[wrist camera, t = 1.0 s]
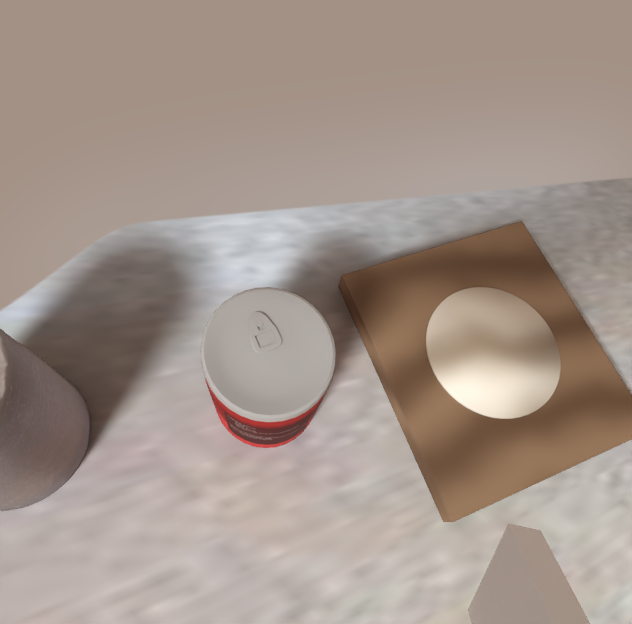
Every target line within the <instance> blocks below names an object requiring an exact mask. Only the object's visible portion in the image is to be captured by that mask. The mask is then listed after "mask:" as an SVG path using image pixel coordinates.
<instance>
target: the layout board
mask: <svg viewBox="0 0 632 624" xmlns="http://www.w3.org/2000/svg"><path fill="white" fill-rule="evenodd" d="M339 289H340V291H341V293H342V295H343V297H344V300H345V302H346V304H347V306H348V309H349V311H350V313H351V315H352V318H353V320H354V322H355V324H356V327H357V329H358V331H359V333H360V336H361V338H362V340H363V342H364V345H365V347H366V349H367V351H368V354H369V356H370V358H371V360H372V363H373V365H374V367H375V369H376V371H377V374H378V376H379V378H380V380H381V383H382V385H383V387H384V389H385V392H386V394H387V396H388V398H389V401H390V403H391V405H392V407H393V410H394V412H395V414H396V416H397V419H398V421H399V423H400V425H401V428H402V430H403V432H404V434H405V437H406V439H407V441H408V443H409V445H410V448H411V450H412V452H413V454H414V457H415V459H416V461H417V463H418V466H419V468H420V470H421V472H422V475H423V477H424V479H425V481H426V484H427V486H428V488H429V490H430V493H431V495H432V497H433V499H434V502H435V504H436V506H437V508H438V511H439V513H440V515H441V517H442V519H443V522H454V521H456V520H459V519H461V518H463V517H465V516H467V515H469V514H472V513H474V512H476V511H478V510H480V509H482V508H484V507H487V506H489V505H491V504H493V503H495V502H497V501H500V500H502V499H504V498H506V497H508V496H510V495H512V494H515V493H517V492H519V491H521V490H523V489H525V488H528V487H530V486H532V485H534V484H536V483H538V482H540V481H543V480H545V479H547V478H549V477H551V476H553V475H556V474H558V473H560V472H562V471H564V470H566V469H569V468H571V467H573V466H575V465H577V464H579V463H581V462H584V461H586V460H588V459H590V458H592V457H594V456H597V455H599V454H601V453H603V452H605V451H607V450H609V449H612V448H614V447H616V446H618V445H620V444H622V443H625V442H627V441H629V440H631V439H632V395H631V393H630V392H629V390H628V389H627V387H626V386H625V384H624V382H623V381H622V379H621V378H620V376H619V374H618V373H617V371H616V370H615V368H614V367H613V365H612V363H611V362H610V360H609V359H608V357H607V355H606V354H605V352H604V351H603V349H602V347H601V346H600V344H599V343H598V341H597V340H596V338H595V336H594V335H593V333H592V332H591V330H590V328H589V327H588V325H587V324H586V322H585V321H584V319H583V317H582V316H581V314H580V313H579V311H578V309H577V308H576V306H575V305H574V303H573V301H572V300H571V298H570V297H569V295H568V294H567V292H566V290H565V289H564V287H563V286H562V284H561V282H560V281H559V279H558V278H557V276H556V275H555V273H554V271H553V270H552V268H551V267H550V265H549V263H548V262H547V260H546V259H545V257H544V255H543V254H542V252H541V251H540V249H539V248H538V246H537V244H536V243H535V241H534V240H533V238H532V236H531V235H530V233H529V232H528V230H527V229H526V227H525V225H524V224H523V222H522V221H521V222H518V223H514V224H511V225H508V226H504V227H501V228H498V229H494V230H491V231H488V232H484V233H481V234H478V235H474V236H471V237H468V238H464V239H461V240H458V241H454V242H451V243H448V244H444V245H441V246H438V247H434V248H431V249H428V250H424V251H421V252H418V253H414V254H411V255H408V256H404V257H401V258H398V259H394V260H391V261H388V262H384V263H381V264H378V265H374V266H371V267H368V268H364V269H361V270H358V271H354V272H351V273H348V274H344V275H342V277H341V280H340V283H339Z"/></svg>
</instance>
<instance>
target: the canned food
mask: <svg viewBox="0 0 632 624" xmlns="http://www.w3.org/2000/svg"><path fill="white" fill-rule="evenodd" d="M335 355H336V351H335V344H334V339H333V336H332V333H331V330H330V327H329V326H328V324H327V322H326V321H325V319H324V317H323V316H322V315H321V313H320V312H319V311H318V310H317V309H316V308H315V307H314V306H313V305H312V304H311V303H309V302H308V301H307V300H306V299H304V298H302V297H300V296H299V295H297V294H295V293H292V292H289V291H286V290H283V289H278V288H271V287H266V288H254V289H250V290H245V291H243V292H241V293H238V294H236V295H234V296H232V297H231V298H229V299H228V300H226V301H225V302H224V303H223V304H222V305H221V306H220V307H219V308H218V309H217V310H216V311H215V312H214V313H213V315H212V316H211V318H210V319H209V321H208V323H207V325H206V328H205V331H204V333H203V338H202V344H201V364H202V368H203V372H204V376H205V380H206V383H207V386H208V389H209V392H210V394H211V397H212V400H213V403H214V405H215V408H216V411H217V413H218V415H219V418H220V420H221V422H222V423H223V425H224V426H225V427H226V429H227V430H228V431H229V432H230V433H231V434H232V435H233V436H234V437H235V438H237V439H239V440H240V441H242V442H244V443H246V444H249V445H252V446H255V447H262V448H269V447H277V446H281V445H284V444H287V443H288V442H290V441H292V440H294V439H295V438H297V437H298V436H299V435H300V434H301V433H302V432H303V431H304V430H305V429H306V427H307V426H308V425H309V423H310V421H311V419H312V417H313V416H314V414H315V412H316V410H317V408H318V406H319V405H320V403H321V401H322V399H323V397H324V395H325V393H326V391H327V389H328V387H329V384H330V382H331V380H332V376H333V372H334V369H335Z"/></svg>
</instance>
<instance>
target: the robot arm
mask: <svg viewBox="0 0 632 624" xmlns="http://www.w3.org/2000/svg"><path fill="white" fill-rule="evenodd" d="M468 611H469V615H470V618H471V622H472V624H590V623H589V621H588V619H587V617H586V615H585V613H584V611H583V609H582V608H581V606H580V604H579V602H578V600H577V598H576V596H575V594H574V593H573V591H572V589H571V587H570V585H569V583H568V581H567V579H566V577H565V576H564V574H563V572H562V570H561V568H560V566H559V564H558V562H557V561H556V559H555V557H554V555H553V553H552V551H551V549H550V547H549V545H548V544H547V542H546V540H545V538H544V536H543V534H542V532H541V531H540V530H536V529H531V528H526V527H522V526H517V525H512V524H508V526H507V528H506V530H505V532H504V534H503V537H502V539H501V541H500V543H499V545H498V547H497V549H496V551H495V554H494V556H493V558H492V560H491V562H490V564H489V566H488V568H487V571H486V573H485V575H484V577H483V579H482V581H481V583H480V585H479V587H478V590H477V592H476V594H475V596H474V598H473V600H472V602H471V604H470V607H469V609H468Z"/></svg>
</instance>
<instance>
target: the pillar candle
mask: <svg viewBox="0 0 632 624" xmlns="http://www.w3.org/2000/svg"><path fill="white" fill-rule="evenodd" d="M89 430H90V419H89V414H88V409H87V405H86V403H85V401H84V399H83V397H82V396H81V394H80V393H79V392H78V390H77V389H76V387H74V386H73V385H72V384H70V383H69V382H68V381H67V380H66V379H65V378H63V376H61V375H60V374H59V373H57V372H56V371H55V370H54V369H52V368H51V367H50V366H49V365H48V364H46V363H45V362H44V361H43V360H42V359H40V358H39V357H38V356H36V355H35V354H34V353H32V352H31V351H30V350H28V349H27V348H25V347H24V346H23V345H21V344H20V343H18V342H17V341H15V340H14V339H12V338H11V337H10V336H9V335H8V334H6V333H5V332H4V331H3V330H1V329H0V510H1V511H5V510H12V509H18V508H23V507H26V506H29V505H32V504H34V503H36V502H39V501H41V500H43V499H45V498H46V497H48V496H49V495H51V494H52V493H54V492H55V491H57V490H58V489H59V488H60V487H61V486H62V485H64V484H65V483H66V482H67V481H68V479H69V478H70V477H71V476H72V475H73V474H74V472H75V471H76V470H77V468H78V467H79V465H80V463H81V461H82V459H83V457H84V455H85V453H86V450H87V447H88V442H89Z"/></svg>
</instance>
